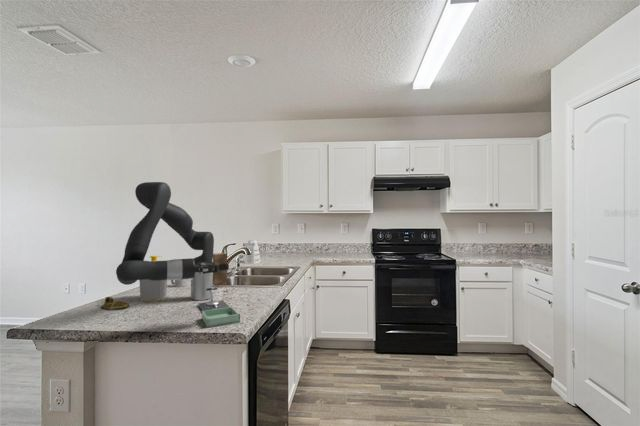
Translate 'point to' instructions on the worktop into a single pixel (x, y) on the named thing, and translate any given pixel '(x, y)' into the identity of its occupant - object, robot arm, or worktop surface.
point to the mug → (180, 283)
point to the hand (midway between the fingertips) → (226, 266)
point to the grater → (253, 254)
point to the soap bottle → (153, 288)
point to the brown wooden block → (221, 275)
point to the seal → (114, 304)
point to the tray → (220, 316)
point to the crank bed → (212, 303)
